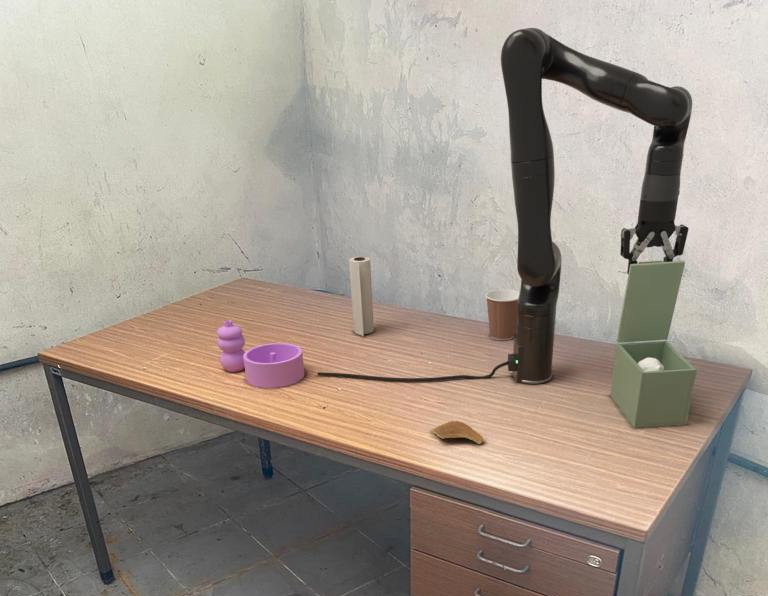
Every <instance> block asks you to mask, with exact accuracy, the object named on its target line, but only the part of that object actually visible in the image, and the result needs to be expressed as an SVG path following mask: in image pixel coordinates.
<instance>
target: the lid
mask: <svg viewBox="0 0 768 596" xmlns="http://www.w3.org/2000/svg"><path fill="white" fill-rule="evenodd" d="M685 265H686V262H685V260H676V261H674V260H673V262H663V260H654V261H653V260H652V261H651V260H650V261H639V262H638V263H637V264H630V269H629V275H628V274H627V281H626V286H625V290H624V295H623V296H624V297H623V301H622V307H621V312H620V313H621V314H620V319H619V324H618V330H617V336H616V344H622V343H638V342H654V341H667V340H668V338H669V335H670V334H669V333H670V330H671V325H672V321H673V316H674V313H675V308H676V303H677V300H678V295H679V292H680V287H681V282H682V278H683V274H684V269H685Z"/></svg>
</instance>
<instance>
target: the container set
mask: <svg viewBox="0 0 768 596" xmlns="http://www.w3.org/2000/svg"><path fill="white" fill-rule="evenodd" d="M216 335H217V337H218V339H217V340H216V341H217V347H218V348H219V349H220V350H221V351H222V352H221V354H220V356H219V362H220V366H221V367H222V368H223V369H225V370H226V371H227V372H228V373H229V372H230V373H236V372H242V371H243V370H244V372H245V379H246V382H247V383H248V384H249V385H250V386H253V387H256V388H263V389H277V388H284V387H287V386H292V385H294V384H296V383H298V382H300V381H301V380H302V379H304V378H305V374H306V373H305V366H304V365H305V363H304V356H303V349H302V348H301V346H298V345H296V344H292V343H286V342H273V343H265V344H260V345H256V346H253V347H251V348H249V349H247V350H246V351H245V350H244V349H243V348H244V346H245V344H246V339H245V336H243V328H242V327H241V326H239V325H237V324H233V320H232V319H226V320H224V321H223V325H222V326H220V327H219V328H218V329H217V331H216Z"/></svg>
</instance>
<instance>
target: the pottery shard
mask: <svg viewBox="0 0 768 596" xmlns="http://www.w3.org/2000/svg"><path fill="white" fill-rule="evenodd" d="M432 433H433V434H434V435H436V436H437V437H438V438H441V439H442V440H444V439H455V438H456V439H458V438H465V439H469V440H470V441H473V442H474V443H476V444H479V445H481V444H482V443H484V442H485V440H484V437H483V436H482V435H481V434H480V433H479V432H477V431H476V430H475V429H473V428H472V427H471V426H470V425H468V424H467V423H465V422H463V421H457V420H451V421H448V422H446V423H443V424H441V425H438V426H436V427H434V428H433V429H432Z"/></svg>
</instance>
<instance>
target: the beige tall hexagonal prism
mask: <svg viewBox="0 0 768 596" xmlns="http://www.w3.org/2000/svg"><path fill="white" fill-rule="evenodd" d="M348 259H349V260H348V266H349V280H350V281H349V282H350V295H351V309H352V323H353V333H355V334H356V335H358V336H359V335H360V336H362V337H365V335H367V334H368V335H369V334H371V333H373V332H374V331H375V325H374V323H375V322H374V306H373V305H374V303H373V288H372V270H371V269H372V268H371V267H372V266H371V258H370V257H367V256H355V257H351V258H348Z"/></svg>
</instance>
